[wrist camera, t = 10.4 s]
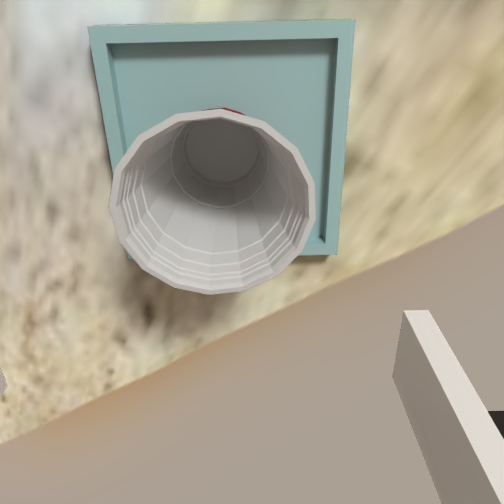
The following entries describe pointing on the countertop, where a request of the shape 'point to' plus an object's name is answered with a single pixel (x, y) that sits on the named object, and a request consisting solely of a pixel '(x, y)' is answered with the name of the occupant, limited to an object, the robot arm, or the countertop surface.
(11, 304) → the countertop surface
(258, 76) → the tray
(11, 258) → the countertop surface
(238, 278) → the plastic cup
